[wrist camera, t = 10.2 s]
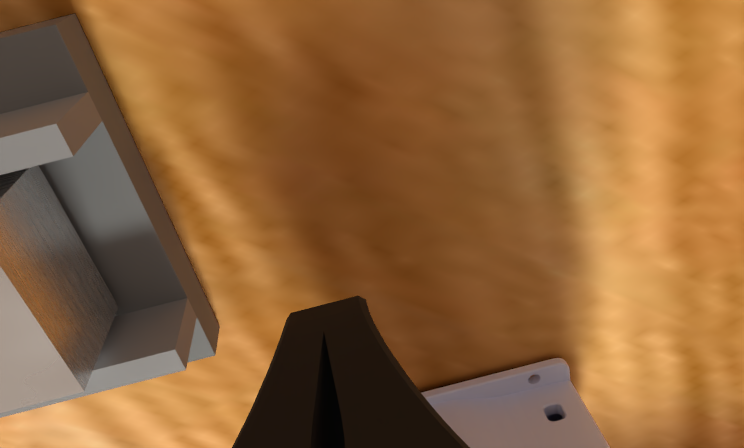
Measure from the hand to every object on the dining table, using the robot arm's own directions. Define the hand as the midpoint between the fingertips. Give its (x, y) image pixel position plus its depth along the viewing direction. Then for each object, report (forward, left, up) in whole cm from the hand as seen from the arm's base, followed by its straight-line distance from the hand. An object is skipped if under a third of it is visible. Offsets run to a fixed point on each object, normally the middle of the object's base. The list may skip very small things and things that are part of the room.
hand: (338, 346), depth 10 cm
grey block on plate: (+10, 0, -7) cm, 12 cm away
